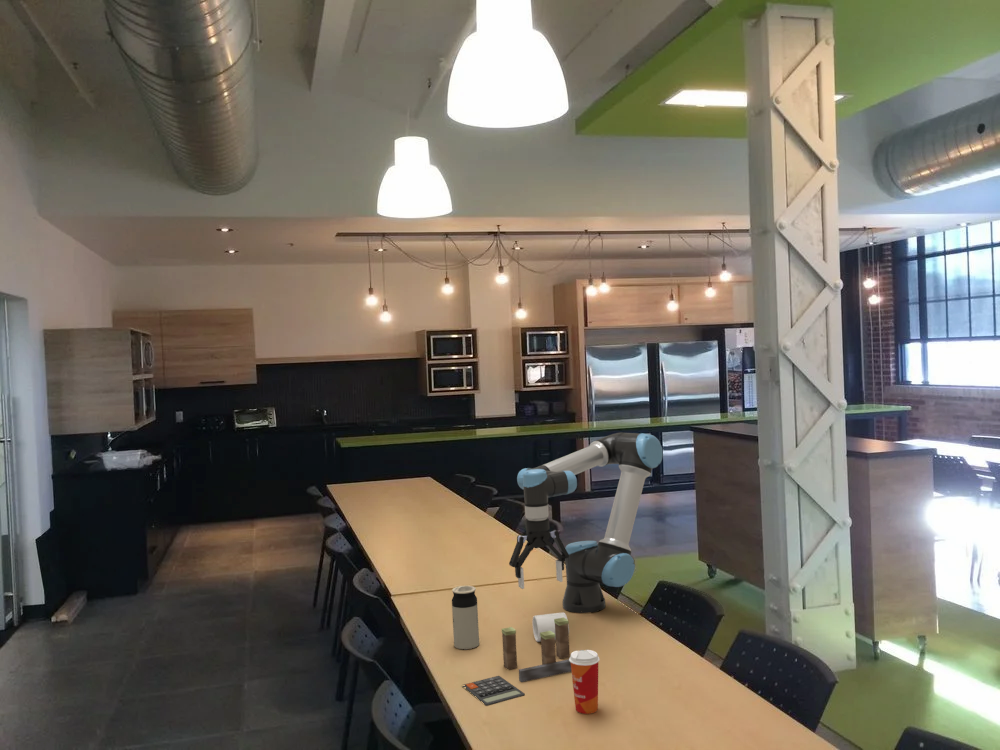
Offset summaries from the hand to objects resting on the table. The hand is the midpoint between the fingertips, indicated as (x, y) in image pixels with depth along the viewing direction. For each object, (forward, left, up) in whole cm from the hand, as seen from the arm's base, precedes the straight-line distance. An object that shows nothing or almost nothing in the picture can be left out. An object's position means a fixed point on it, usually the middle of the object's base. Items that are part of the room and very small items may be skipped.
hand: (540, 584), depth 255 cm
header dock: (+10, +23, -17) cm, 30 cm away
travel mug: (+24, -5, -17) cm, 30 cm away
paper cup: (+12, +53, -17) cm, 57 cm away
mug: (-2, +1, -17) cm, 17 cm away
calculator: (+29, +31, -18) cm, 46 cm away
